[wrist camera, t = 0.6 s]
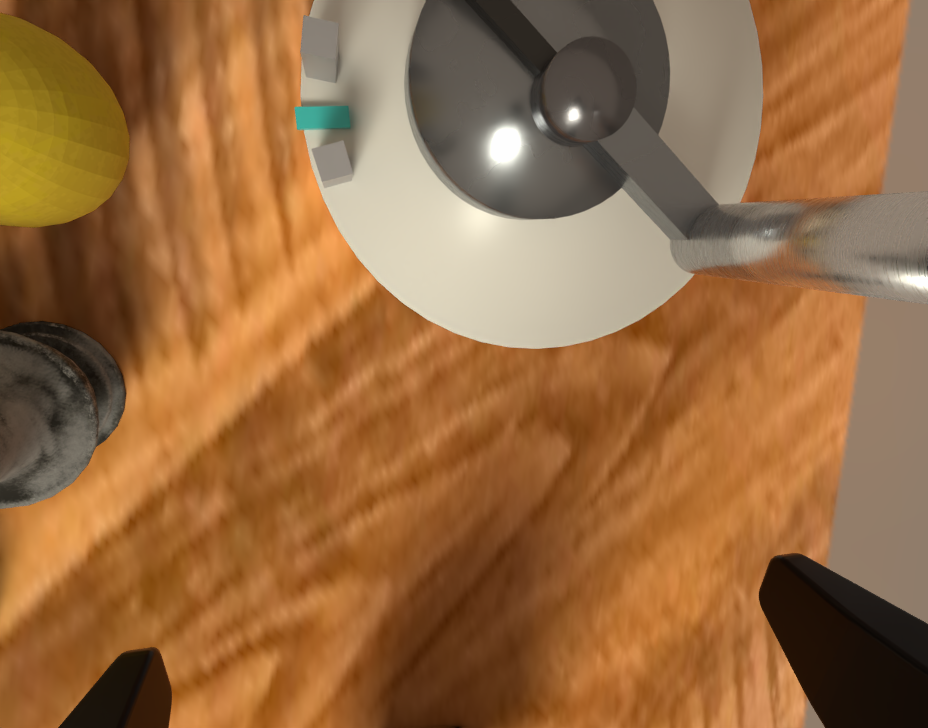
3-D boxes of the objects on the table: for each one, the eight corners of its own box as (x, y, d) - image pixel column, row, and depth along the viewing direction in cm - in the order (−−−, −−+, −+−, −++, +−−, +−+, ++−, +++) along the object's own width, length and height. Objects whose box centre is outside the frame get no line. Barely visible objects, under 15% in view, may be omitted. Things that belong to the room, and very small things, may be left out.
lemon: (83, 260, 21) (-62, 278, 14) (-59, 134, 19) (-316, 75, 12) (195, 153, 21) (113, 111, 13) (62, 19, 19) (-117, -116, 12)
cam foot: (703, 262, 24) (1024, 292, 13) (458, 328, 23) (576, 430, 11) (659, -97, 21) (1044, -489, 9) (368, -45, 19) (409, -435, 8)
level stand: (762, 283, 27) (836, 293, 23) (374, 393, 24) (381, 426, 20) (717, -185, 22) (801, -276, 18) (229, -108, 20) (201, -194, 16)
